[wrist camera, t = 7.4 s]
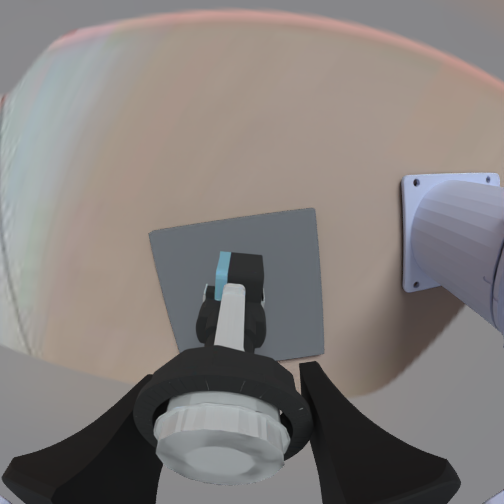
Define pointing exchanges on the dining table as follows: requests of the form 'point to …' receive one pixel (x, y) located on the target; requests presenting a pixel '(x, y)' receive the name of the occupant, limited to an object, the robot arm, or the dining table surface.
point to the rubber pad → (275, 276)
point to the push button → (226, 390)
